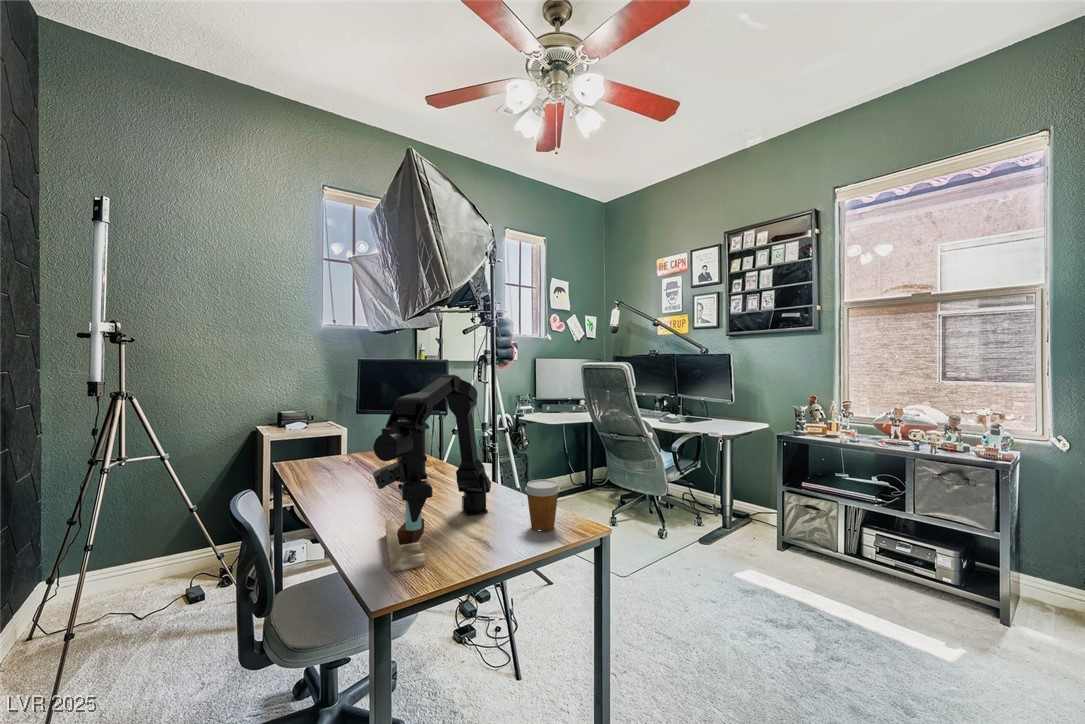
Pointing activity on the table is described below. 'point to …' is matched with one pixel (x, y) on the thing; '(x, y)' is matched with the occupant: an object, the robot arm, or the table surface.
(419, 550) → the backstop fence
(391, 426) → the robot arm
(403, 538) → the brick
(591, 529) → the table surface
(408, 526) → the dowel
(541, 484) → the disposable coffee cup
